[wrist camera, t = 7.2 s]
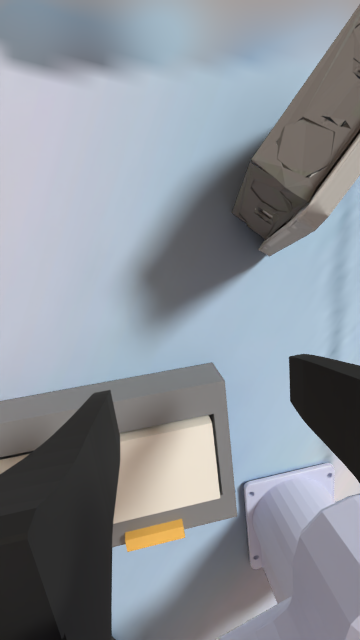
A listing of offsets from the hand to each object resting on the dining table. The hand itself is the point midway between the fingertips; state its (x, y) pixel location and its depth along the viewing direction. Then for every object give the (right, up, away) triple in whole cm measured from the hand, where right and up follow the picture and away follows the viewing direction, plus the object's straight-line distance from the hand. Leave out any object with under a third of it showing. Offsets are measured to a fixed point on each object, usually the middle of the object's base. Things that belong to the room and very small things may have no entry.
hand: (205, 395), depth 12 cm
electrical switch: (+5, +12, +8) cm, 15 cm away
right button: (-4, -7, +9) cm, 12 cm away
